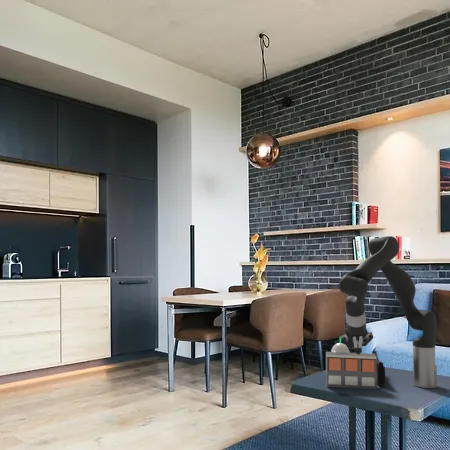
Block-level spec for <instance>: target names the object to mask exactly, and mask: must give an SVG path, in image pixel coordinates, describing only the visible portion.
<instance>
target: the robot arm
mask: <svg viewBox="0 0 450 450" xmlns="http://www.w3.org/2000/svg"><path fill="white" fill-rule="evenodd" d="M368 251H369V254H370V255H371V256H369V257H367V258H366V259H363V261H361V263H359V265H358V266H356V268H355V269H353V270H351V271H350V272H347V273H345V274H344V275H343V276H342V278H341V279H340V280H339V283H338V288H339V291H340V292H341V293H343V294H344V295H348V297H346V298H345V321H346V323H345V325H346V330H345V333H344V334H341V335H340V337H341V342H343V344H345V345H346V346H347V347H349V348H353V350H354V353H357V354H360V353H363V352H362V351H363V350H362V349H363V347H366V346H368V344H369V343H370V342H371V341H372V340H373V339H374V334H373V332H369V331H368V329H367V318H366V310H365V301H366V297H367V293H368V292H369V291H368V290H369V283H370V282H371V280H373V278H374V276H375V275H376V274H377V273H378V272H379V271H381V272H382V273H383V275H384V277H385V279H386V280H387V282H388V284H389V286H390V288H391V290H392V292H393V293H394V296H395V297H396V299H397V300H398V303H399V305H400V307H401V309H402V311H403V313H404V316H405V318H406V321H407V323H408V325H409V326H410V328H411V329H413V330H414V331H421V332H422V335H421V336H419V337H417V338H416V337H415V338H413V340H412V369H413V370H412V373H413V374H412V377H413V378H412V382H413V384H412V385H413V386H415V387H418V388H422V389H423V388H424V389H435V388H436V389H437V388H438V372H437V371H438V367H437V365H436V342H437V341H436V340H437V328H438V327H437V325H438V324H437V323H438V322H437V315H436V313H435V312H434V311H433V310H426V309H418V308H417V306H416V304H415V303H414V299H415V296H416V293H417V292H416V289H417V288H416V286H415V283H414V281H413V279H412V278H411V276H410V274H409V273H408V272H406V271H405V270H404V269H402V268H401V267H400V266H397V265H396V264H395V263H393V262H392V260H393V259H395V257H397V256H398V255H399V252H400V244H399V241H398V240H397V238H396V237H395V236H392V235H391V236H390V235H389V236H388V235H386V236H380V237H375V238H371V239H370V240H369V242H368Z"/></svg>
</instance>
